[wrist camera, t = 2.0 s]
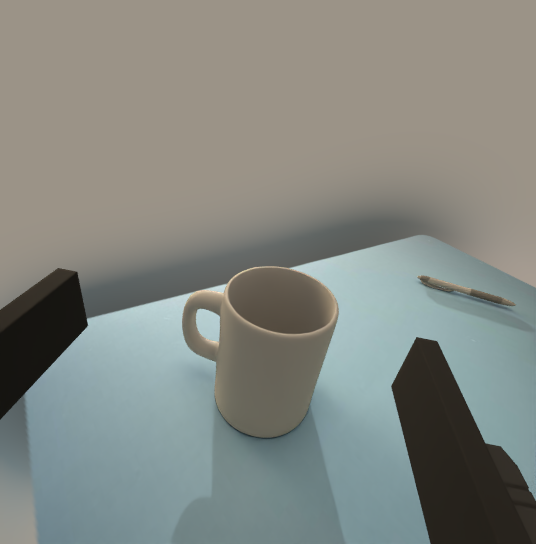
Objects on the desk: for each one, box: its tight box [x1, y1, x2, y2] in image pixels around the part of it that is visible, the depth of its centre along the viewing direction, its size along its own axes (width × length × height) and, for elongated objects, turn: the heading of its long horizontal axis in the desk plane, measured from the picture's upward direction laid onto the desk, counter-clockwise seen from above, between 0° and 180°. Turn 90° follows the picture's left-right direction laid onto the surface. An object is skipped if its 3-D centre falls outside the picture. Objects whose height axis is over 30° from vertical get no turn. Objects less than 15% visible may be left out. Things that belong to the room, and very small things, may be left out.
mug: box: [182, 267, 339, 438], centre depth 26 cm, size 12×8×11 cm
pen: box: [418, 276, 516, 306], centre depth 49 cm, size 1×14×1 cm, turn 70°
